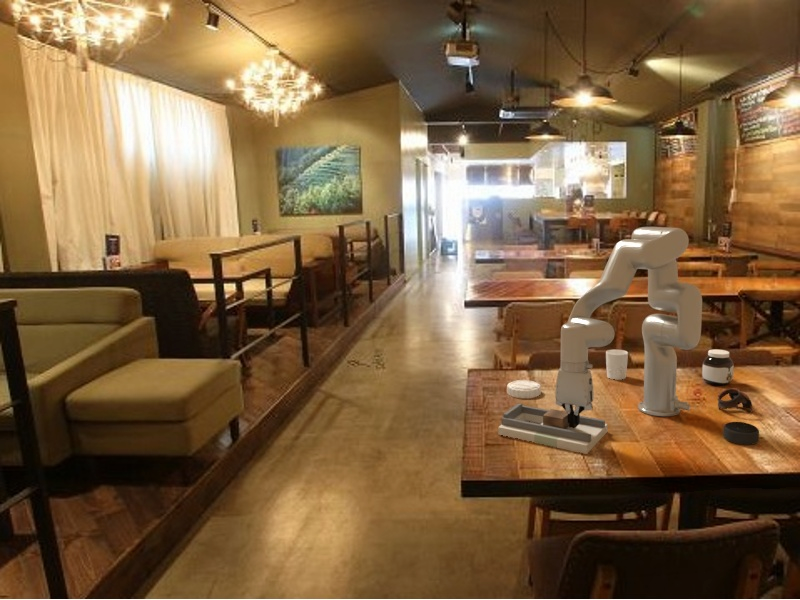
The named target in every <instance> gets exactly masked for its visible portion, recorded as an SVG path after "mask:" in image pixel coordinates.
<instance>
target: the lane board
mask: <svg viewBox="0 0 800 600" xmlns="http://www.w3.org/2000/svg"><path fill="white" fill-rule="evenodd" d="M549 410H550V409H544V408H539V407H534V406H529V405H523V403H517V404H515V405H513V407H511V408H509V410H507V411H505V412H504V413H503V415H502V416H503V417H501V424H500V425H499V426H498V427H497V429H498V430H497V432H498V436H501V435H503V436H502V437H506V436H508V437H507V438H510V437H513V438H512V439H515V438H518V439H517V440H519V439H522V440H521V441H524V440H527V441H526V442H529V441H532V442H531V443H533V442H536V443H535V444H538V443H540V444H539V445H542V444H544V445H543V446H547V445H548V447H552V446H553V447H552V448H556V447H557V449H562V450H565V451H566V450H567V451H571V452H575V453H579V452H580V454H585V455H588V453H589V452H591V450H592V449H593V448H594V447H595V446H596V445H597V444H598V443H599V442H600V441H601V439H602V438H604V436H605V435H606V434H607V433H608V423H606V420H605V419H602V418H595V417H589V416H584V415H580V423H579V425H578V426H577V427H576V428H573V427H571V428H570V427H567V428H566V429H562V428H556V427H551V426H546V425H543V415H544V414H545V413H546V412H548V411H549ZM529 421H530V422H529ZM596 443H597V444H596Z"/></svg>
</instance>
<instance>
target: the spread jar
mask: <svg viewBox="0 0 800 600" xmlns="http://www.w3.org/2000/svg"><path fill="white" fill-rule="evenodd" d="M707 355H708V356H706V357H705V359H704V360H703V362H702V374H701V375H702V379H703V381H704V382H705V383H707V384H708V385H712V386H718V387H721V386H727V385H729V384H731V382H732V381H733V378H734V367H735V366H734V361H733V360H732V359H731V357H730V351H728V350H725V349H709V350H708V351H707Z"/></svg>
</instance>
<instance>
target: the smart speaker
mask: <svg viewBox="0 0 800 600" xmlns="http://www.w3.org/2000/svg"><path fill="white" fill-rule="evenodd" d="M722 429H723V430H722V436H723V438H724V439H725V440H726V441H728V442H730V443H733V444H735V445H736V444H737V445H744V446H746V445H748V446H750V445H754V444H757V443H758V442H759V440H760V430H759V428H758V427H756V425H754V424H751V423H747V422H742V421H731V422H726V423H725V424H724V425H723V427H722Z"/></svg>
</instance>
